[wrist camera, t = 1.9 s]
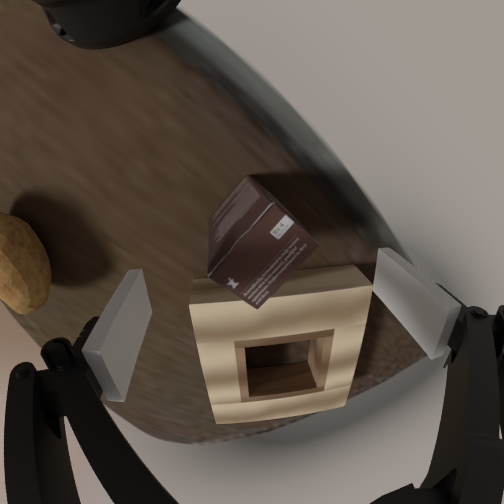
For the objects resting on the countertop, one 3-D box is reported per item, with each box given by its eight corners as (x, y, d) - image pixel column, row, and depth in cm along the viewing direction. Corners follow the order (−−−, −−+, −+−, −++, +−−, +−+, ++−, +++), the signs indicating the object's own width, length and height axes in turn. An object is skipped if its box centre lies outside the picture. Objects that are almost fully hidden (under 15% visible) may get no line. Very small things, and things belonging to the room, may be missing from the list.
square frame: (193, 279, 30) (188, 304, 25) (353, 264, 31) (373, 285, 27) (215, 397, 38) (216, 424, 33) (334, 381, 39) (344, 405, 34)
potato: (8, 177, 23) (-36, 193, 15) (80, 256, 28) (46, 291, 20) (-16, 234, 25) (-52, 257, 17) (49, 304, 30) (21, 341, 22)
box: (243, 245, 29) (256, 314, 18) (208, 218, 28) (199, 275, 17) (283, 201, 28) (324, 245, 17) (249, 171, 26) (268, 196, 15)
